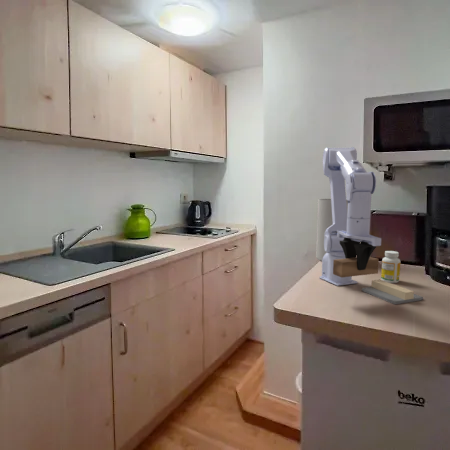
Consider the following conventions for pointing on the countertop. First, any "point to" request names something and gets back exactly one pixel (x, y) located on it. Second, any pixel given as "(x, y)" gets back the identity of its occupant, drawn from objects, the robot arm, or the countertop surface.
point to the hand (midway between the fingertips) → (356, 267)
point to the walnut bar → (354, 267)
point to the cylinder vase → (323, 224)
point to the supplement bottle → (390, 267)
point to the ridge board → (389, 297)
